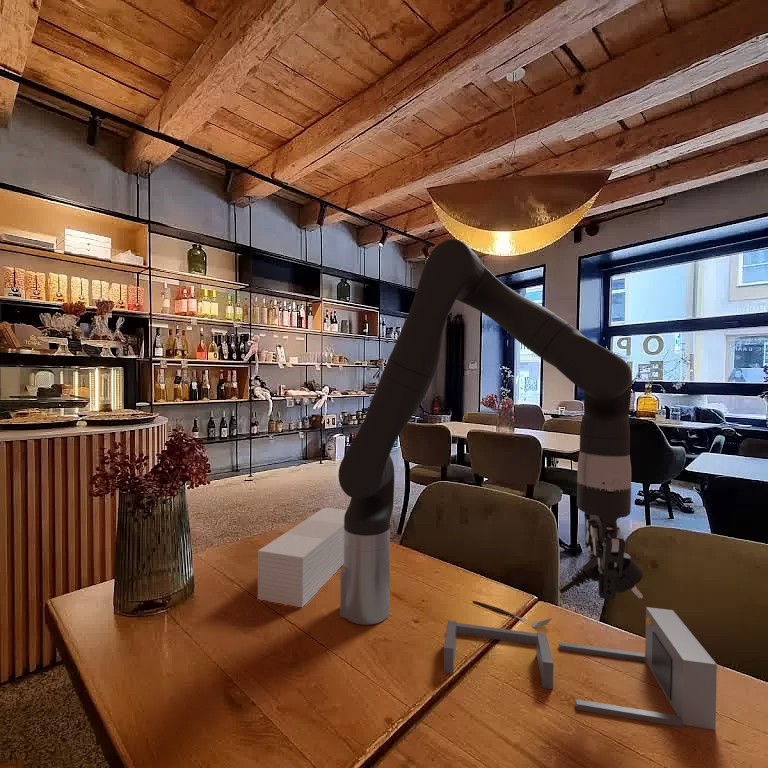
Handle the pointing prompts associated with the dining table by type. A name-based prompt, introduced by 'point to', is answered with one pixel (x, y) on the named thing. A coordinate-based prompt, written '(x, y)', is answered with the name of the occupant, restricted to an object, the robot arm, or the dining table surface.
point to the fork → (536, 624)
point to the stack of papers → (302, 559)
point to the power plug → (627, 581)
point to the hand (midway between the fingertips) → (601, 588)
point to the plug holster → (501, 634)
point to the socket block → (666, 673)
